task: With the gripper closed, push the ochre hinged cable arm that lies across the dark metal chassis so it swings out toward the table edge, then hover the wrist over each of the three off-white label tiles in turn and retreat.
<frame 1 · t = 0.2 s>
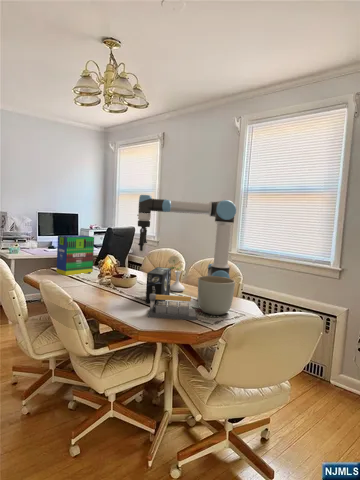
hand: (142, 254, 211), 28 cm above the table, fingers open, 13 cm apart
box: (158, 300, 214), on the table
flower in vase: (175, 290, 242), on the table
box 2: (74, 272, 281), on the table
planter: (214, 312, 196), on the table
chassis: (172, 314, 185), on the table
cable arm: (170, 297, 184), point 9 cm above the table, hinge at 0.0°
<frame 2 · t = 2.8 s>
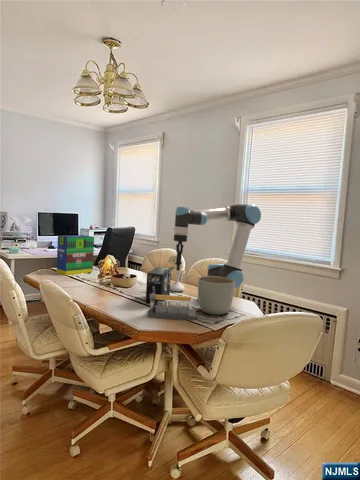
hand: (177, 275, 194), 20 cm above the table, fingers closed
nothing on the table moved.
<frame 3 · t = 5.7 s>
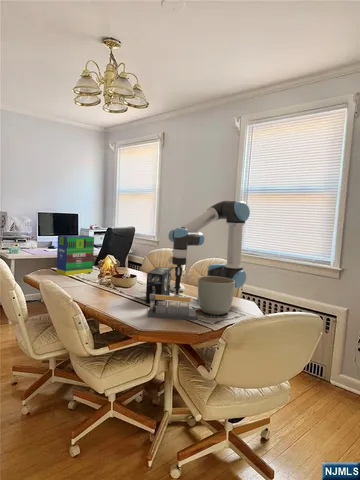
hand: (176, 299, 185), 8 cm above the table, fingers closed
cable arm: (170, 298, 184), point 9 cm above the table, hinge at 4.6°, touching gripper
everything else where it was.
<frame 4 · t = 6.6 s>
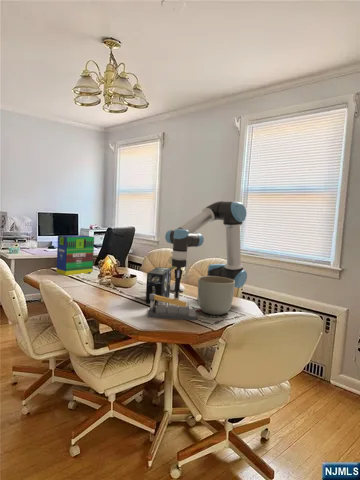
hand: (175, 303, 179), 8 cm above the table, fingers closed
cable arm: (167, 300, 179), point 9 cm above the table, hinge at 33.3°, touching gripper
everything else where it was.
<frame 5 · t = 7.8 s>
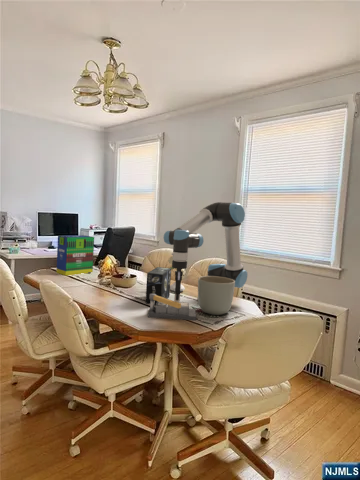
hand: (176, 305, 175), 8 cm above the table, fingers closed
cable arm: (164, 300, 178), point 9 cm above the table, hinge at 45.9°, touching gripper
everything else where it was.
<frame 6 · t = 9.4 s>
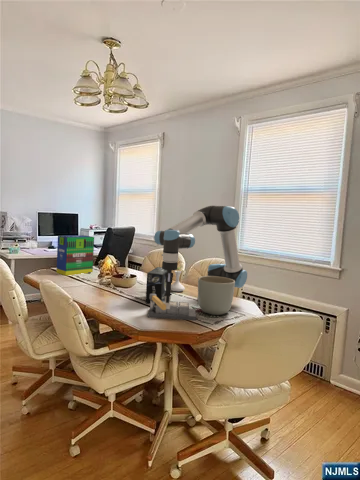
hand: (167, 308, 169), 8 cm above the table, fingers closed
cable arm: (157, 301, 175), point 9 cm above the table, hinge at 70.9°, touching gripper
everything else where it was.
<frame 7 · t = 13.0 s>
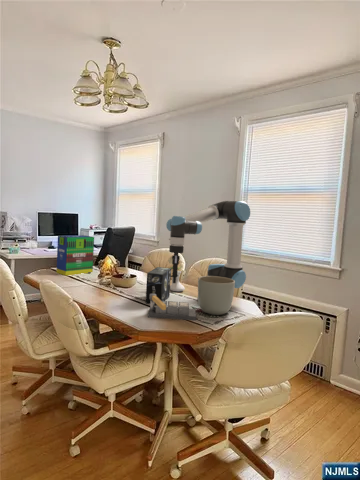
hand: (173, 288, 184), 14 cm above the table, fingers closed
cable arm: (157, 301, 175), point 9 cm above the table, hinge at 70.9°
everything else where it was.
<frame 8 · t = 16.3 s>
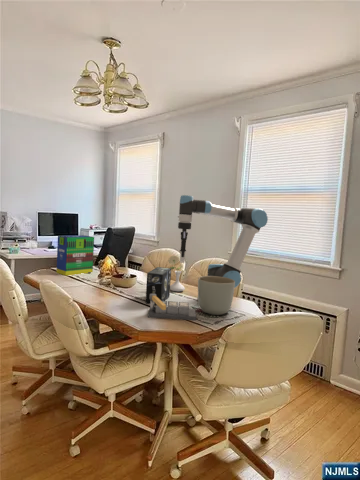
hand: (182, 262, 200), 26 cm above the table, fingers closed
nothing on the table moved.
at the end: cable arm at +71° (first picture: +0°) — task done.
